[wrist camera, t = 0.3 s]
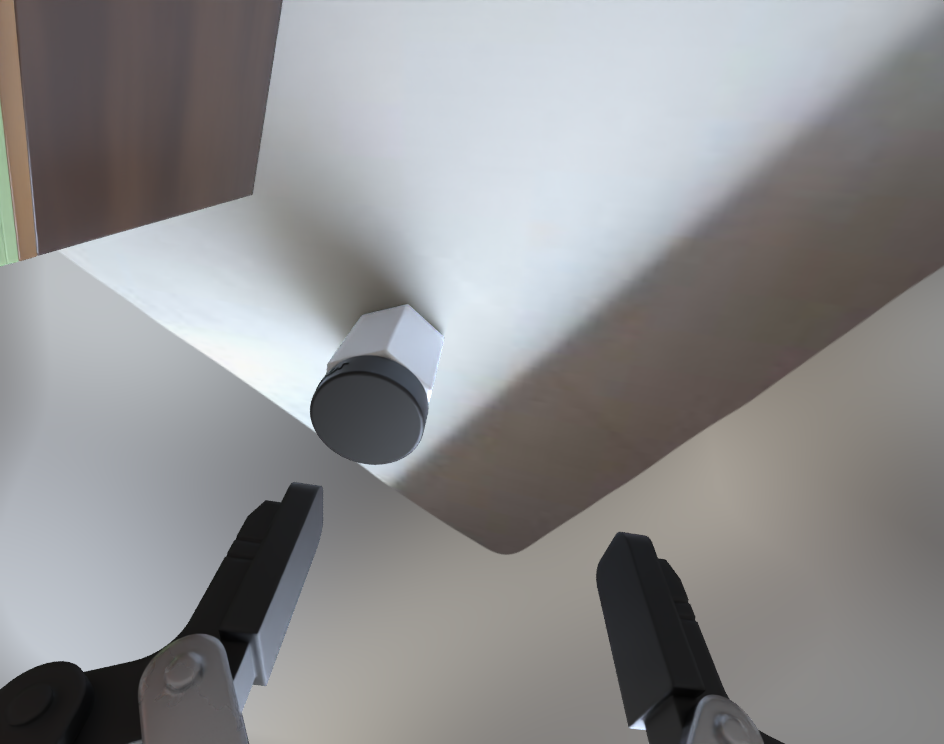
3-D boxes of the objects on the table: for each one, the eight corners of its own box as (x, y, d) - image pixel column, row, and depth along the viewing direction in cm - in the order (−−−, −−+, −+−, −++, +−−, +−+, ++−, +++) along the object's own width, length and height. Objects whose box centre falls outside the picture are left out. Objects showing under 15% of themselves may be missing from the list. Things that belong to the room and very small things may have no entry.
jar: (362, 291, 38) (313, 353, 28) (452, 315, 39) (436, 384, 28) (350, 374, 42) (303, 455, 32) (430, 395, 43) (410, 480, 33)
